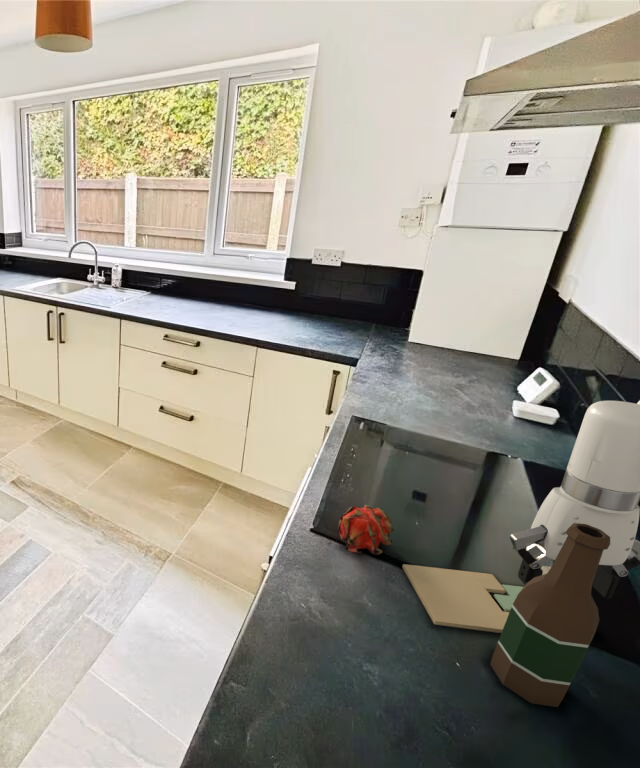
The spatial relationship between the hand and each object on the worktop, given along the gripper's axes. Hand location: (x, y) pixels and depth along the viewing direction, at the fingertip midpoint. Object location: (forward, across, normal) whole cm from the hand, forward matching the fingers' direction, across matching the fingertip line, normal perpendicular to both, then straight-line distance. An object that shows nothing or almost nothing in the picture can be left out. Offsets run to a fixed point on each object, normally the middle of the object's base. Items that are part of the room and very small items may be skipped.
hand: (562, 587), depth 69 cm
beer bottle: (+5, +12, +13) cm, 18 cm away
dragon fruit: (+4, +25, -11) cm, 27 cm away
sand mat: (+5, +12, 0) cm, 13 cm away
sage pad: (+5, +2, 0) cm, 6 cm away
